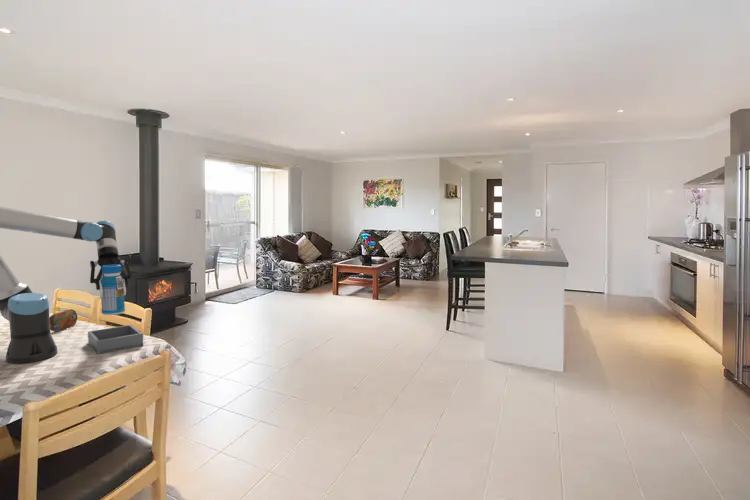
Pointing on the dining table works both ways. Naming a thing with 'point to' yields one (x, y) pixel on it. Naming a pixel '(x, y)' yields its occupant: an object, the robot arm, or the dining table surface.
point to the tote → (115, 339)
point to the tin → (63, 320)
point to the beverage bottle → (112, 290)
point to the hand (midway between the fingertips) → (113, 294)
